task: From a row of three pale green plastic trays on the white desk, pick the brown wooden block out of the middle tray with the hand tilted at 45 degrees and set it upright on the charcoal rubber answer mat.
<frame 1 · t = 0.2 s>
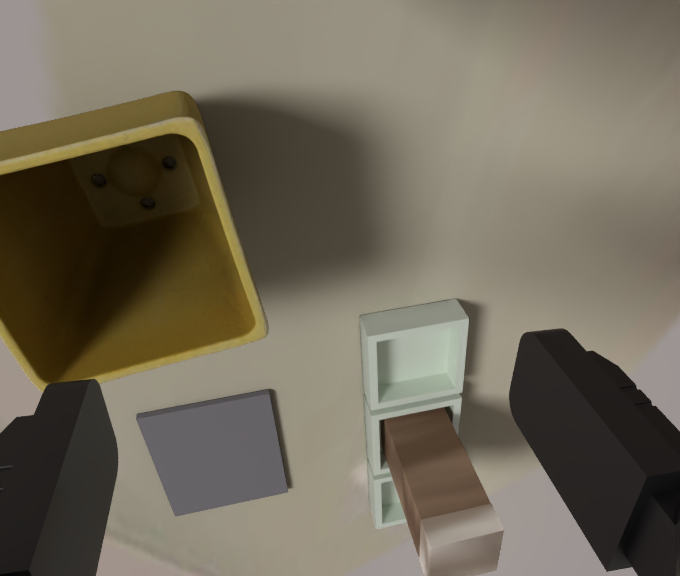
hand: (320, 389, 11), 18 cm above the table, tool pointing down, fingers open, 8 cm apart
answer mat: (219, 454, 37), on the table
tray 3: (406, 474, 42), on the table
tray 2: (407, 416, 38), on the table
flower pot: (137, 170, 26), on the table
brown wooden block: (409, 421, 38), resting on tray 2
tray 1: (407, 345, 35), on the table
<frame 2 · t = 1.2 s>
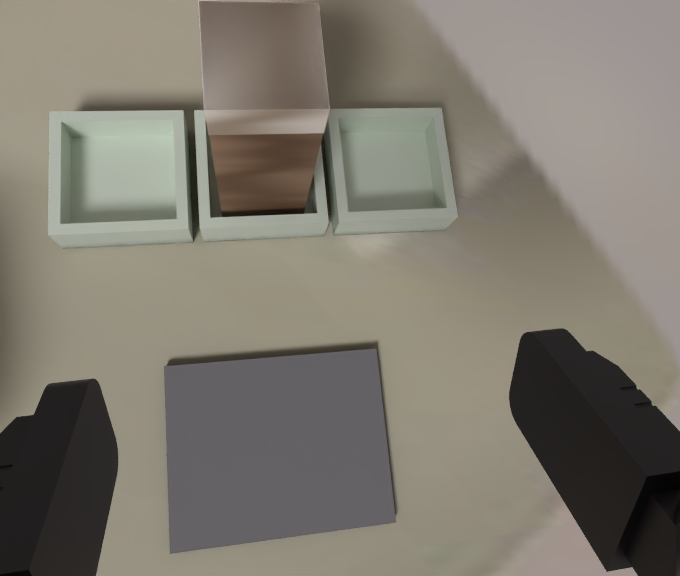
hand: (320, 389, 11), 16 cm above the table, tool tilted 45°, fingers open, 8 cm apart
answer mat: (279, 443, 26), on the table
tray 3: (383, 179, 30), on the table
tray 2: (260, 183, 28), on the table
brown wooden block: (260, 179, 28), resting on tray 2
tray 1: (128, 187, 27), on the table
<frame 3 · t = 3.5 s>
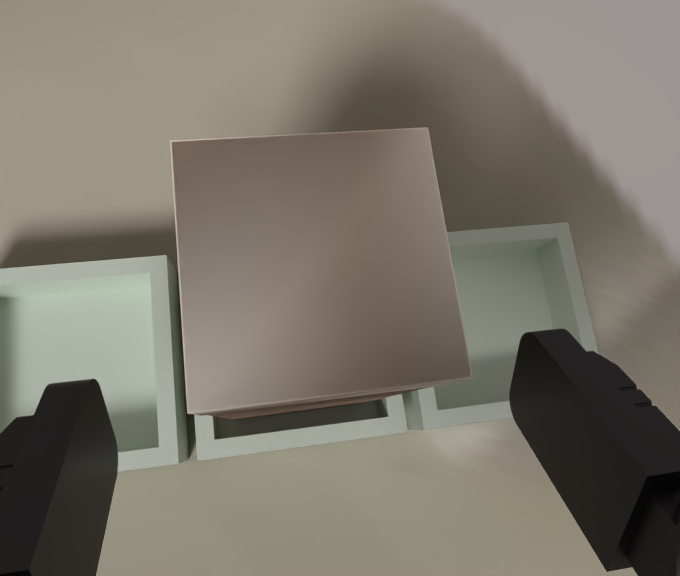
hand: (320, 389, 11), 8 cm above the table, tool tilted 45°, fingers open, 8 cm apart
tray 3: (477, 329, 19), on the table
tray 2: (291, 350, 18), on the table
brown wooden block: (292, 348, 18), resting on tray 2
tray 1: (84, 373, 17), on the table
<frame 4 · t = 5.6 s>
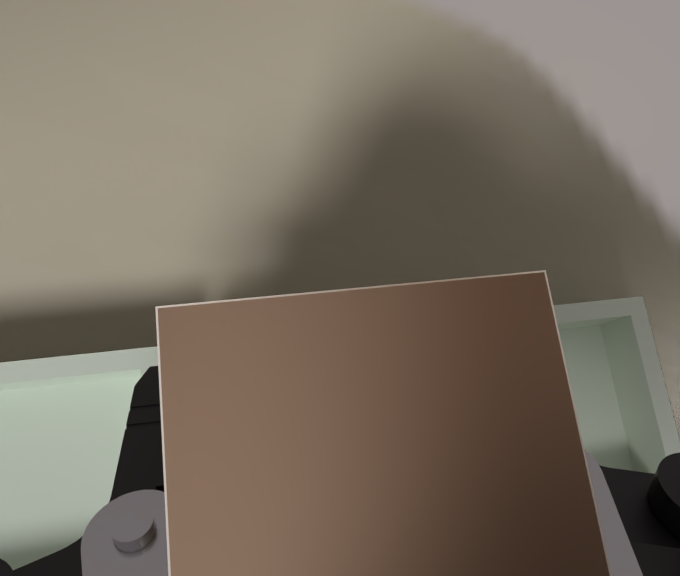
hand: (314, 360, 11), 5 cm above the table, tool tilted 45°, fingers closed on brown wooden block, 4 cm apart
tray 3: (531, 420, 16), on the table
brown wooden block: (312, 450, 15), resting on tray 2, touching gripper
tray 1: (62, 483, 14), on the table
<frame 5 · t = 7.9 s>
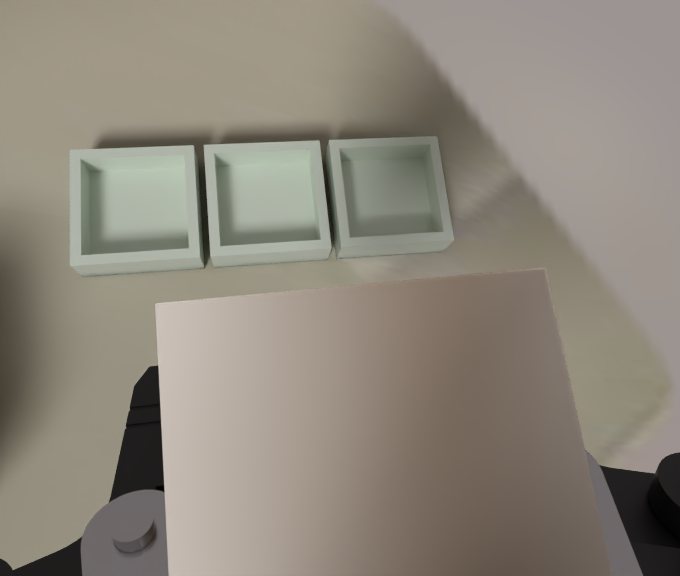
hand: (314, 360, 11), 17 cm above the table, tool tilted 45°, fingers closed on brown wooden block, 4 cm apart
tray 3: (383, 204, 31), on the table
tray 2: (267, 210, 30), on the table
brown wooden block: (312, 449, 15), point 13 cm above the table, touching gripper
tray 1: (143, 217, 29), on the table
when the fingers open (6 cm above the table, at t = 10.5 s): brown wooden block drops 2 cm, resting on answer mat.
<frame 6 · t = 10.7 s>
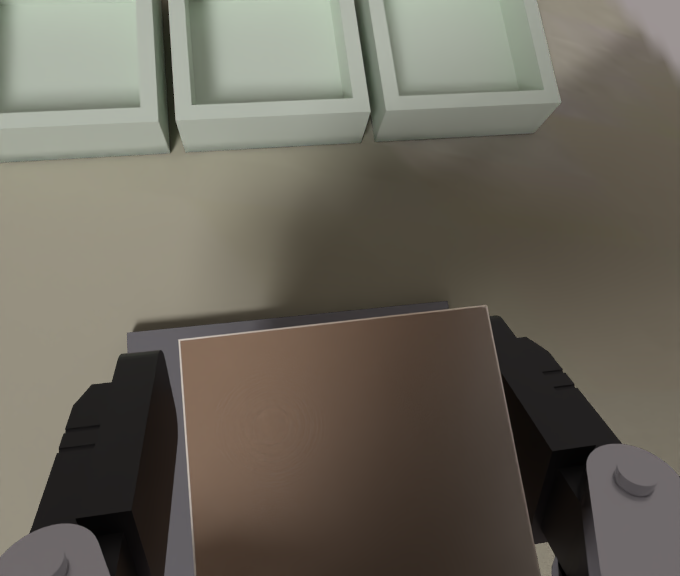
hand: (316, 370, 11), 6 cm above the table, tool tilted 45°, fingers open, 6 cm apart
answer mat: (307, 448, 17), on the table
tray 3: (442, 64, 21), on the table
tray 2: (267, 70, 20), on the table
brown wooden block: (308, 450, 16), resting on answer mat
tray 1: (74, 77, 19), on the table
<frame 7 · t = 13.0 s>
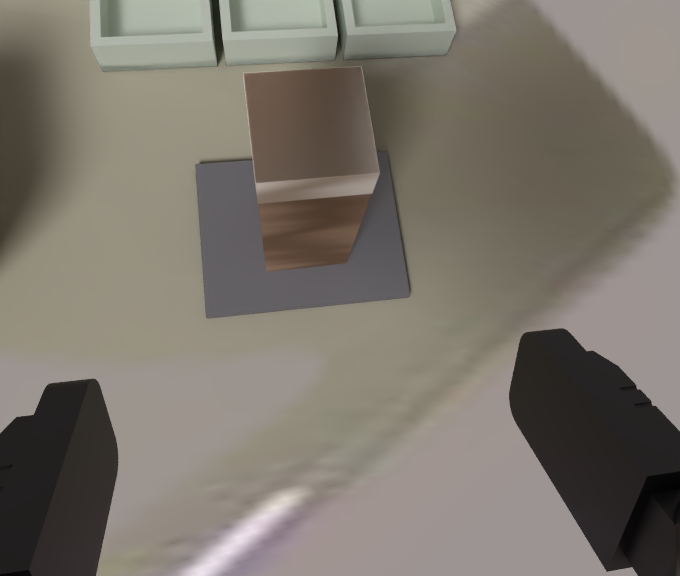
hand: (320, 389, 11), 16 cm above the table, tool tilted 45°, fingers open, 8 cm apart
answer mat: (301, 231, 28), on the table
tray 3: (387, 13, 32), on the table
tray 2: (275, 17, 31), on the table
brown wooden block: (301, 229, 28), resting on answer mat
tray 1: (158, 21, 31), on the table
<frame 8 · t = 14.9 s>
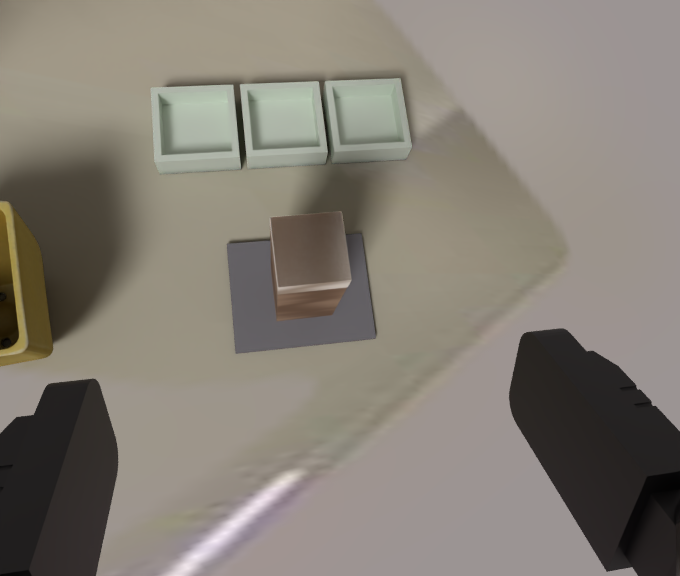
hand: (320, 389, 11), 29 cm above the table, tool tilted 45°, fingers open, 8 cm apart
answer mat: (300, 291, 40), on the table
tray 3: (364, 127, 44), on the table
tray 2: (283, 131, 43), on the table
flower pot: (9, 319, 38), on the table
brown wooden block: (301, 291, 40), resting on answer mat
tray 1: (198, 136, 42), on the table
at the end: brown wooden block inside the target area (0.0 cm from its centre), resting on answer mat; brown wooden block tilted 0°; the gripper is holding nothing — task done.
